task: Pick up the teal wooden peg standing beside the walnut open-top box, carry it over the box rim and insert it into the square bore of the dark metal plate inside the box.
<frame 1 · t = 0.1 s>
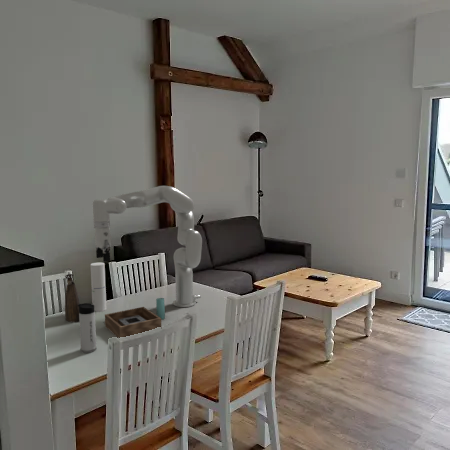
hand: (103, 259, 215), 31 cm above the table, tool pointing down, fingers open, 9 cm apart
peg: (160, 318, 222), on the table
bore plate: (132, 323, 208), in the box, point 2 cm above the table
box: (133, 328, 209), on the table
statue: (73, 320, 220), on the table
cylindrical container: (99, 309, 236), on the table
travel mug: (88, 350, 185), on the table
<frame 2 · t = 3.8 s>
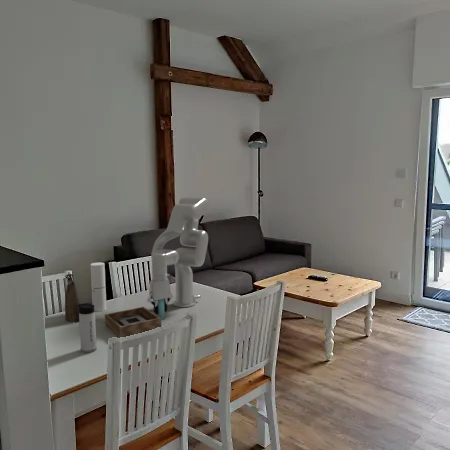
hand: (160, 311, 222), 3 cm above the table, tool pointing down, fingers closed on peg, 4 cm apart
peg: (160, 318, 222), on the table, touching gripper
everything else where it was.
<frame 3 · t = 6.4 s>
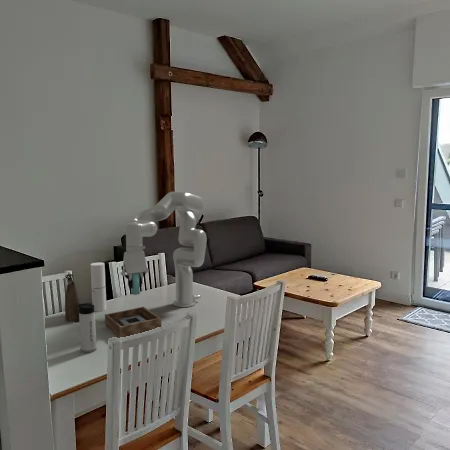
hand: (135, 286, 207), 20 cm above the table, tool pointing down, fingers closed on peg, 4 cm apart
peg: (135, 293, 208), point 17 cm above the table, touching gripper
everything else where it was.
when the fingers open (5 cm above the table, at t = 9.3 s): peg stays where it is, resting on box.
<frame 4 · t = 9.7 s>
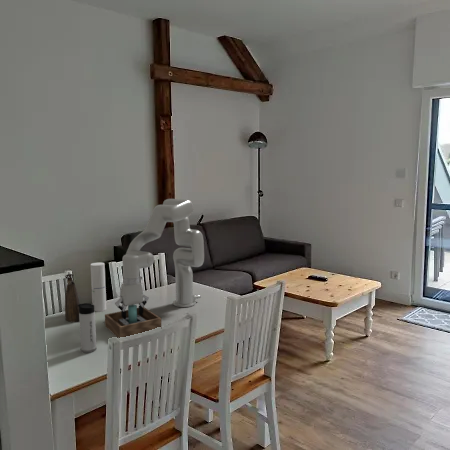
hand: (132, 316, 208), 6 cm above the table, tool pointing down, fingers open, 7 cm apart
peg: (133, 326, 208), point 1 cm above the table, touching box
everything else where it was.
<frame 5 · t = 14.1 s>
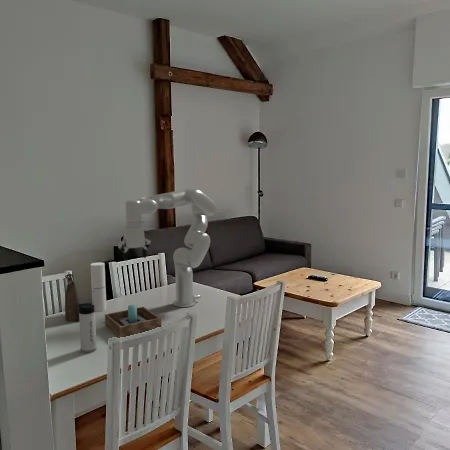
hand: (135, 258, 220), 30 cm above the table, tool pointing down, fingers open, 9 cm apart
nothing on the table moved.
at the end: peg 0.0 cm off-centre on the box, point 1.0 cm above the box's base; peg tilted 0°; the gripper is holding nothing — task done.
